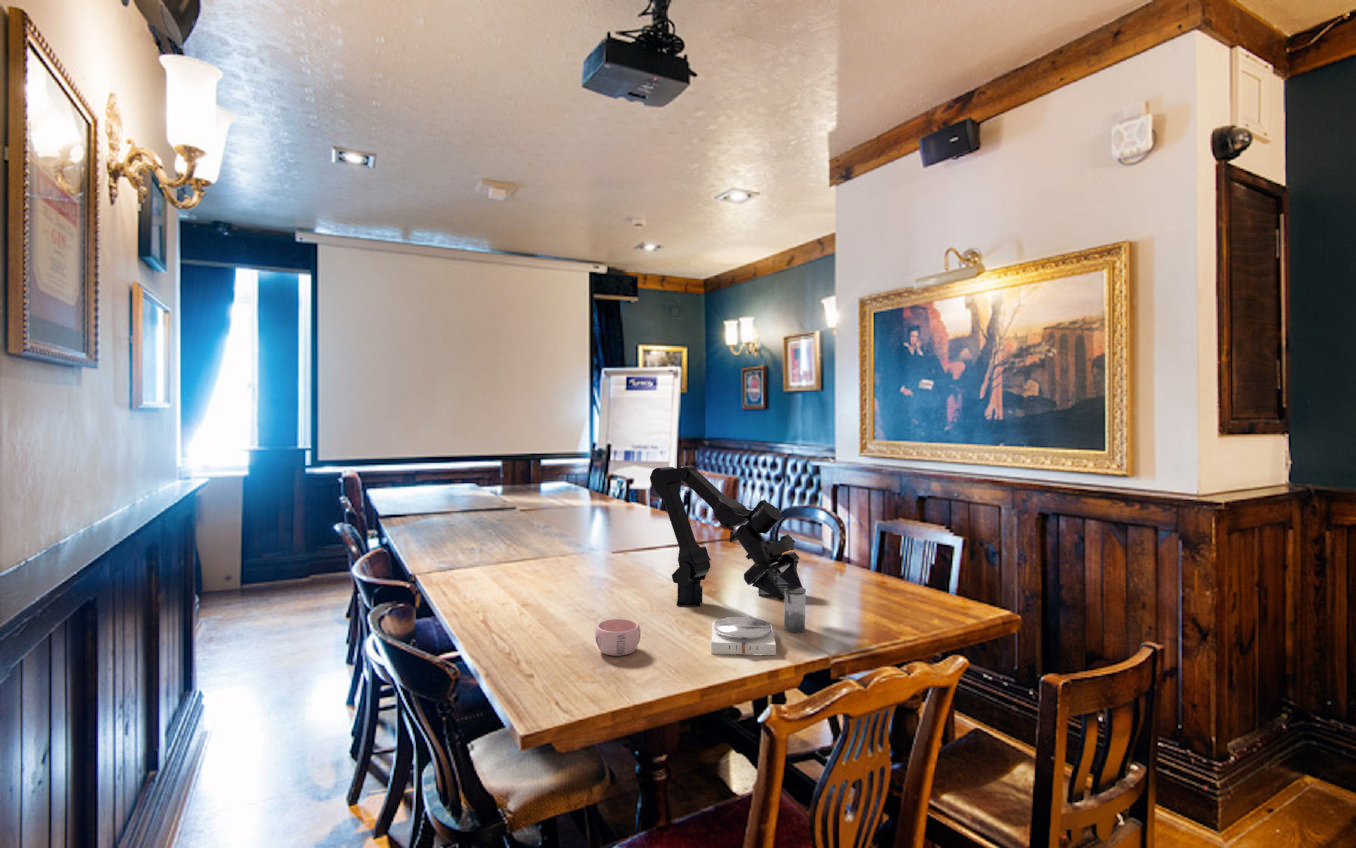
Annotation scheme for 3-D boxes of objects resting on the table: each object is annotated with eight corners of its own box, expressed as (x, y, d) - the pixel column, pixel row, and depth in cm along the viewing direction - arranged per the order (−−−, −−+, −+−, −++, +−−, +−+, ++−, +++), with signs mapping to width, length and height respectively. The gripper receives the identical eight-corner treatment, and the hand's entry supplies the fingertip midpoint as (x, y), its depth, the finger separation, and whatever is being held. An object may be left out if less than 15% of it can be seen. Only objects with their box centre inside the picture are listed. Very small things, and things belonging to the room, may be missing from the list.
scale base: (711, 653, 142) (711, 642, 142) (712, 632, 156) (712, 621, 156) (775, 656, 141) (775, 644, 141) (771, 634, 155) (771, 623, 155)
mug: (645, 657, 140) (645, 630, 140) (600, 662, 136) (600, 634, 136) (631, 639, 151) (631, 613, 151) (589, 643, 148) (589, 617, 148)
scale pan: (713, 652, 141) (713, 636, 141) (714, 630, 156) (714, 615, 156) (773, 654, 140) (773, 638, 140) (769, 632, 155) (769, 617, 155)
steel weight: (784, 633, 156) (785, 591, 156) (782, 626, 161) (783, 586, 161) (806, 633, 156) (807, 592, 156) (803, 626, 161) (804, 586, 161)
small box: (793, 592, 192) (794, 557, 192) (795, 598, 186) (796, 562, 186) (757, 590, 194) (758, 556, 193) (758, 597, 187) (758, 560, 187)
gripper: (754, 530, 155) (795, 583, 148) (793, 520, 169) (831, 569, 162) (727, 558, 160) (765, 611, 153) (766, 546, 174) (803, 595, 168)
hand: (793, 595), depth 159 cm, fingers open, 9 cm apart
